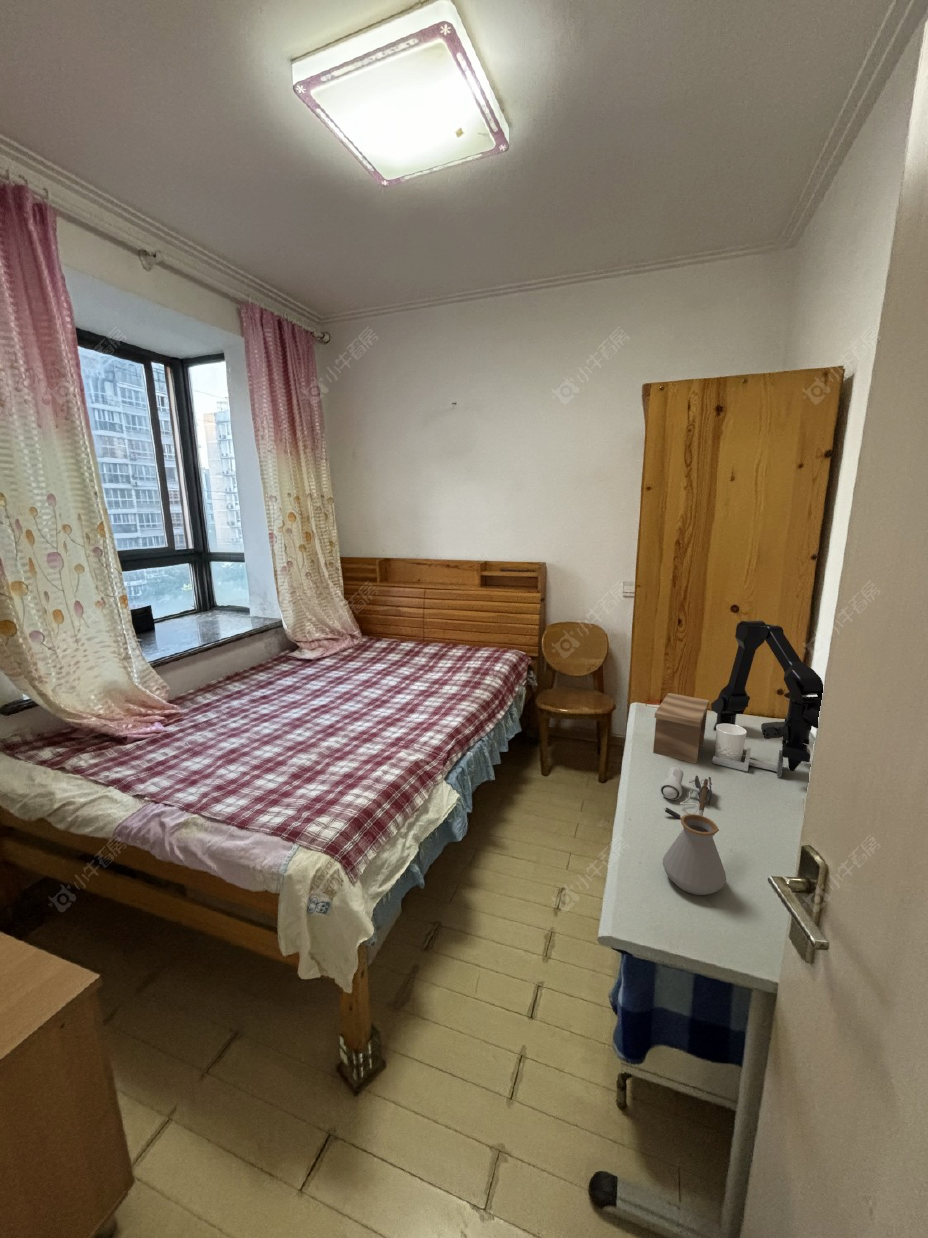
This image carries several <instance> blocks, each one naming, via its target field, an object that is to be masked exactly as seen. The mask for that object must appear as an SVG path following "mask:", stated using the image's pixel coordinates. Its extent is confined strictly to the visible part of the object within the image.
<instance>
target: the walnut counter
mask: <svg viewBox="0 0 928 1238" xmlns="http://www.w3.org/2000/svg"><path fill="white" fill-rule="evenodd" d="M662 700H663V701H661V703H660V705H659V706H658V708H657V709H656V710H655V712H654V718H655V727H654V736H653V737H654V738H653V739H654V740H653V749H652V750H653V751H652V753H653V754H655V755H657V754H658V755H661V756H665V757H669V758H672V759H677V760H681V761H685V762H689V763H694V764H697V763H698V758H699V757H698V755H699V748H700V747H703V746H704V744H705V743H704V742H705V736H706V735H705V733H706V726H707V725H706V723H707V717H708V708H709V705H710V700H708V699H703V698H698V697H694V696H693V697H692V696H687V695H681V694H677V693H669V692H668V693H667V694H666V696H665V697H664V699H662ZM699 746H700V747H699Z"/></svg>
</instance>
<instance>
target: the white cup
mask: <svg viewBox="0 0 928 1238" xmlns="http://www.w3.org/2000/svg"><path fill="white" fill-rule="evenodd" d="M747 733H748V731H747V729H745V728H744V727H742V726H740V725H737V724H735V725H733V724H718V725H717V726H716V730H715V746H714V749H715V751H714V752H715V753H714V756H718V757H722V758H726V759H731V760H735V761H739V762H742V754H743V749H745V744H746V738H747Z"/></svg>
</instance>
